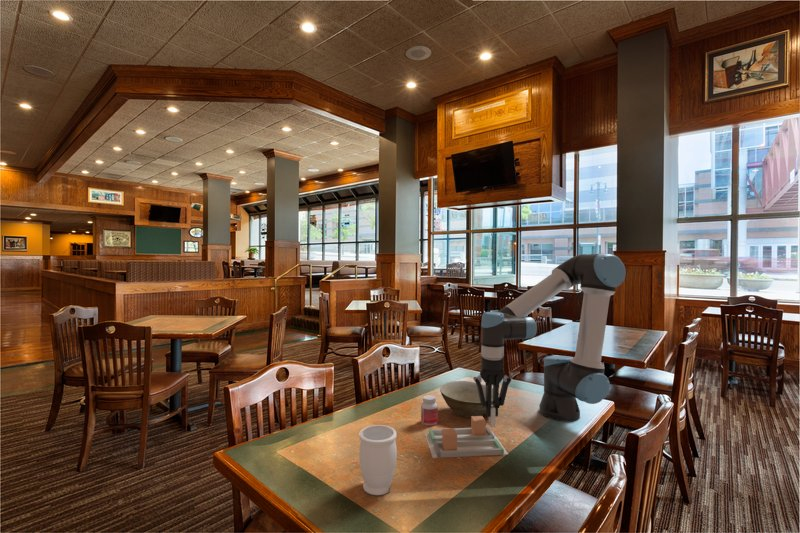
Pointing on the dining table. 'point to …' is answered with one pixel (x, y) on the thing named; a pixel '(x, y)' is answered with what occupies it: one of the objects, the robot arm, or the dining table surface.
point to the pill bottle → (429, 411)
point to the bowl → (464, 398)
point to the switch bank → (465, 444)
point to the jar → (377, 458)
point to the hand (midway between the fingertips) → (491, 425)
